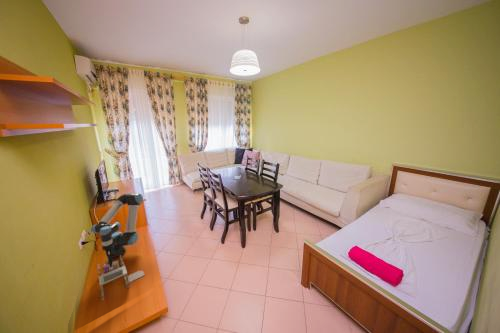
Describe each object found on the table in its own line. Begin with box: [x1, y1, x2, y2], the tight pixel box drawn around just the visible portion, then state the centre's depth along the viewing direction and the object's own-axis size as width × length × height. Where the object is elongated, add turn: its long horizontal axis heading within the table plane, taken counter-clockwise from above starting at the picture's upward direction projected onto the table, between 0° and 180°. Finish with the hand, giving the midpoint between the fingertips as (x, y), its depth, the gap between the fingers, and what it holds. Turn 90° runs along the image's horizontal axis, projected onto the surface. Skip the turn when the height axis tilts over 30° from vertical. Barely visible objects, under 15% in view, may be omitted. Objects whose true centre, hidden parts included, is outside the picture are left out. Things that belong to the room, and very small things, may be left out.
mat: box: [128, 270, 145, 284], centre depth 160 cm, size 9×12×1 cm
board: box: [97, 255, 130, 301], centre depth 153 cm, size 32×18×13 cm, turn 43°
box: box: [102, 260, 120, 274], centre depth 160 cm, size 10×6×12 cm, turn 117°
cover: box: [98, 265, 128, 287], centre depth 144 cm, size 11×18×5 cm, turn 133°
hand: (110, 265), depth 159 cm, fingers open, 13 cm apart
